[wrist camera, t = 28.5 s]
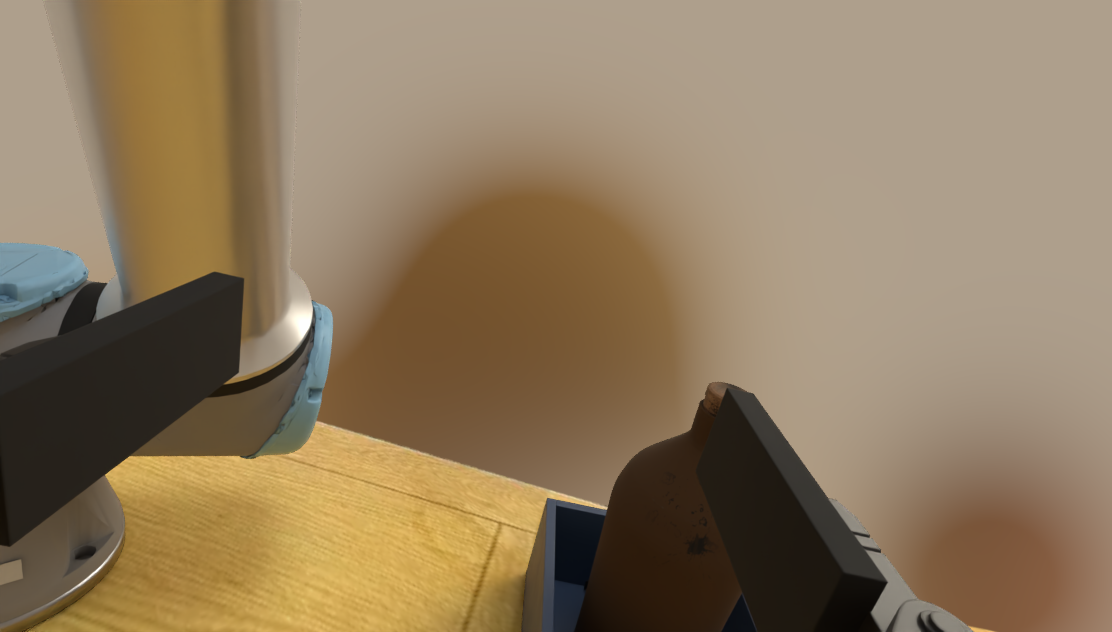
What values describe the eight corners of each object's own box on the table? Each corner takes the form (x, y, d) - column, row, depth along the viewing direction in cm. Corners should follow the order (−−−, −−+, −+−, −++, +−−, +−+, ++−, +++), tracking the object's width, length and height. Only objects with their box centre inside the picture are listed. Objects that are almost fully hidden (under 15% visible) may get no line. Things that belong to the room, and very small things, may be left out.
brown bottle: (719, 725, 41) (856, 440, 33) (593, 759, 37) (716, 440, 29) (649, 606, 50) (743, 360, 42) (541, 621, 46) (624, 351, 38)
